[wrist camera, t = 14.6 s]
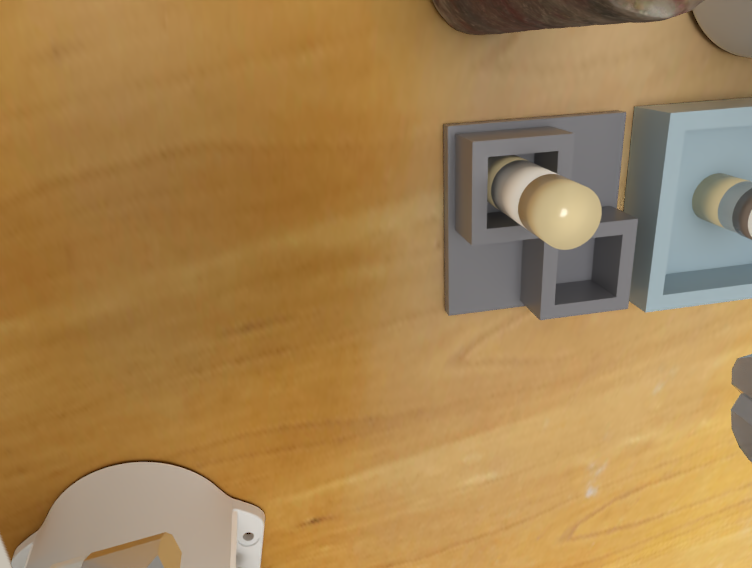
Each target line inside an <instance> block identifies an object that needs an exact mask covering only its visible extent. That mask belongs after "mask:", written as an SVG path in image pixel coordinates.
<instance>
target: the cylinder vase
mask: <svg viewBox="0 0 752 568" xmlns="http://www.w3.org/2000/svg"><path fill="white" fill-rule="evenodd" d="M692 11H693V14H694V16H695V18H696V20H697V22H698V24H699V26H700V27H701V29H702V30H703V32H704V33H705V34H706V35H707V37H708V38H709V39H710V40H711V41H712V42H714V43H715V44H716V45H717V46H719V47H720V48H722V49H723V50H725V51H727V52H729V53H732V54H735V55H738V56H742V57H749V58H752V0H705V1H703V2H702V3H700V4H699V5H697V6H696V7H695V8H694V9H693V10H692Z"/></svg>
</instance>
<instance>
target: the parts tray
mask: <svg viewBox="0 0 752 568" xmlns="http://www.w3.org/2000/svg"><path fill="white" fill-rule="evenodd" d="M716 173H723V174H727V175H730V176H734V177H737V178H741V179H744V180H748V181H752V97H750V98H738V99H725V100H712V101H699V102H686V103H673V104H660V105H647V106H635V107H634V115H633V125H632V135H631V144H630V154H629V163H628V173H627V182H626V192H625V202H624V211H623V212H625V213H627V214H629V215H631V216H633V217H635V218H638V225H637V233H636V242H635V251H634V260H633V268H632V277H631V286H630V295H629V301H630V302H631V303H633V304H634V305H636V306H637V307H638V308H640V309H641V310H643V311H644V312H652V311H660V310H667V309H675V308H682V307H690V306H698V305H705V304H713V303H720V302H728V301H735V300H743V299H750V298H752V240H751V239H748V238H746V237H743V236H741V235H739V234H738V233H735V232H733V231H730V230H728V229H725V228H723V227H720V226H718V225H715V224H713V223H710V222H707V221H705V220H702V219H700V218H699V217H697V216H696V214H695V213H694V211H693V208H692V198H693V194H694V192H695V190H696V188H697V186H698V185H699V184H700V183H701V181H703V180H704V179H705V178H706V177H708V176H710V175H712V174H716Z"/></svg>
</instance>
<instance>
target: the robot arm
mask: <svg viewBox="0 0 752 568" xmlns="http://www.w3.org/2000/svg"><path fill="white" fill-rule="evenodd" d="M732 385H733V386H734V387H735V388H736V389H737V390H738V391H739V392H740V393H741V394H740V396H739V398H738V399H737V401H736V402H735V404H734V406H733V407H732V409H731V421H732V431H733V433H734V435H735V438H736V440H737V443H738V445H739V447H740V449H741V450H742V451H743V452H744V454H745V455H746V456H747V458H748V459H749V460H750V461H751V462H752V354H751V355H747V356H744V357H741V358H738V359H737V360H736V362H735V364H734V366H733V368H732ZM264 527H265V514H264V512H263V511H262V510H261V509H260V508H258V507H256V506H254V505H252V504H249V503H246V502H243V501H240V500H236V499H233V498H231V497H229V496H228V495H226V494H225V493H223V492H222V491H221V490H220V489H219V488H218V487H216V486H215V485H214V484H213V483H211V482H210V481H209V480H207V479H206V478H204V477H202V476H200V475H198V474H197V473H194V472H192V471H190V470H187V469H184V468H181V467H178V466H174V465H170V464H164V463H156V462H133V463H124V464H119V465H114V466H110V467H107V468H104V469H101V470H98V471H95V472H93V473H91V474H89V475H87V476H85V477H83V478H81V479H80V480H78V481H77V482H75V483H74V484H72V485H71V486H70V487H69V488H67V489H66V490H65V491H64V492H63V493H62V494H61V495H60V496H59V498H58V499H57V500H56V501H55V503H54V504H53V506H52V507H51V509H50V511H49V513H48V515H47V517H46V519H45V521H44V523H43V524H42V526H41V527H40V529H39V530H38V531H36V532H35V533H34V534H32V535H31V536H30V537H28V538H27V539H26V540H25V541H23V542H22V543H21V544H20V545H19V546H18V547H17V548H16V550H15V552H14V555H13V558H12V562H11V566H12V568H260V567H261V557H262V547H263V537H264ZM248 532H250V533H251V534H245V533H248Z"/></svg>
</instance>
